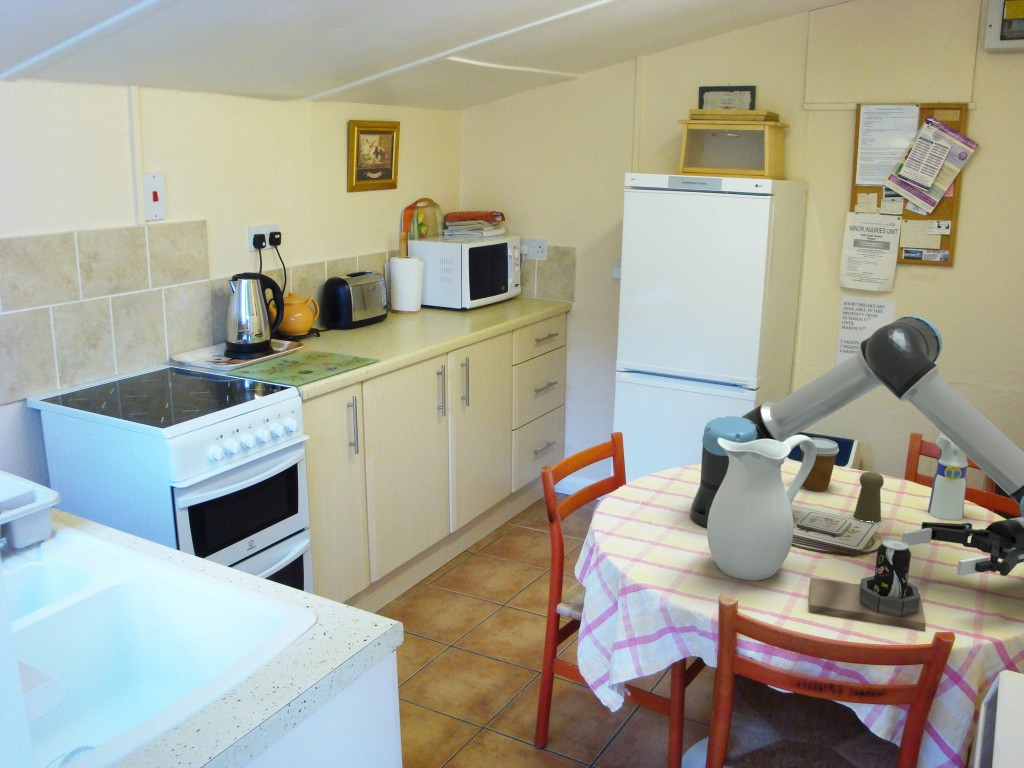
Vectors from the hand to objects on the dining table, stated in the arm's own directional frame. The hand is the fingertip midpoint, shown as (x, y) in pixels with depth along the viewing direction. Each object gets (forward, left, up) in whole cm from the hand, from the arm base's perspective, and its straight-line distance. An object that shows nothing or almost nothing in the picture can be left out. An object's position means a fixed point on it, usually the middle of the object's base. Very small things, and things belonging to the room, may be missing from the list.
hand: (930, 553), depth 172 cm
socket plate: (-11, -6, -10) cm, 16 cm away
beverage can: (-7, -6, -9) cm, 13 cm away
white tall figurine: (+9, +50, -10) cm, 52 cm away
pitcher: (-31, +5, -10) cm, 33 cm away
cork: (-9, +41, -10) cm, 44 cm away
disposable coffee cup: (-21, +58, -10) cm, 63 cm away
